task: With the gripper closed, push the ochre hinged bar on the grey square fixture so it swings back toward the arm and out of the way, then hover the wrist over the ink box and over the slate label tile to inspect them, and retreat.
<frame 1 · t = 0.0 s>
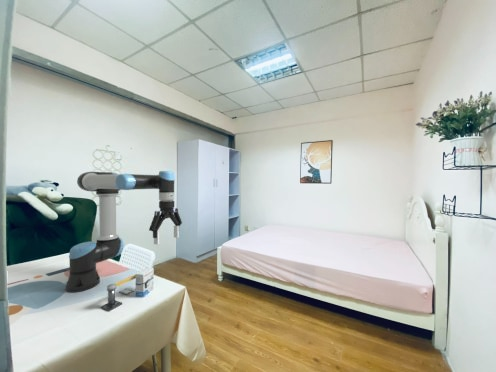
hand: (166, 240, 108), 28 cm above the table, fingers open, 13 cm apart
ink box: (145, 292, 109), on the table
swing arm: (125, 280, 103), point 9 cm above the table, hinge at 0.0°
label tile: (126, 292, 109), on the table
grey square fixture: (111, 306, 97), on the table
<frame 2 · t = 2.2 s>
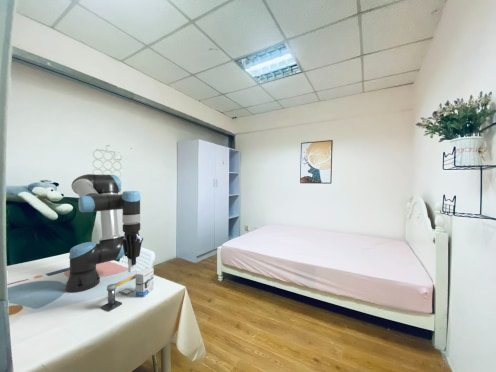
hand: (132, 271, 100), 16 cm above the table, fingers closed
nothing on the table moved.
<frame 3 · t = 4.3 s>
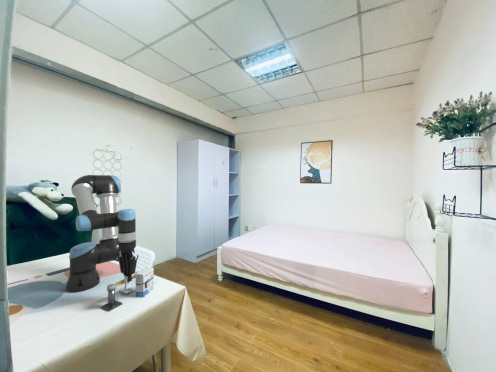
hand: (128, 287, 102), 6 cm above the table, fingers closed
swing arm: (125, 280, 103), point 9 cm above the table, hinge at 3.0°, touching gripper
everything else where it was.
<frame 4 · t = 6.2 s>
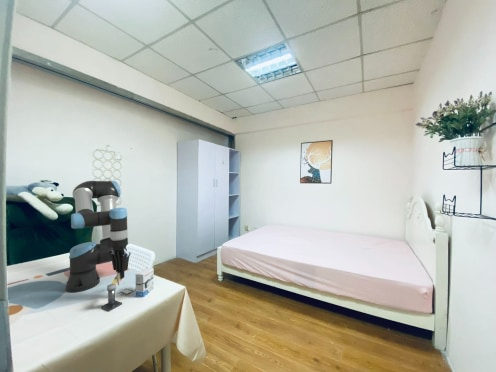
hand: (120, 284, 105), 6 cm above the table, fingers closed
swing arm: (115, 280, 103), point 9 cm above the table, hinge at 43.8°, touching gripper
everything else where it was.
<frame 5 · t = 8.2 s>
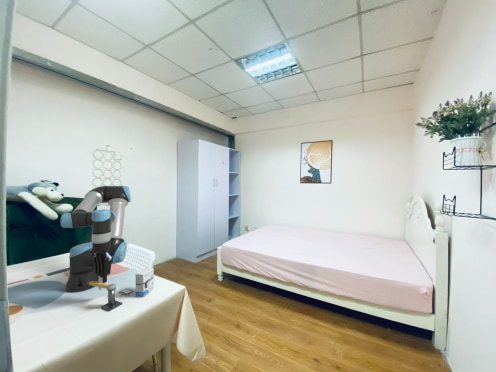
hand: (103, 288, 102), 6 cm above the table, fingers closed
swing arm: (100, 285, 99), point 9 cm above the table, hinge at 95.7°, touching gripper
everything else where it was.
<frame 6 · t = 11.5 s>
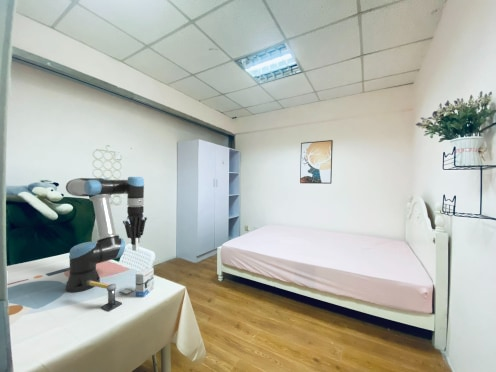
hand: (135, 250, 109), 23 cm above the table, fingers closed
swing arm: (100, 285, 99), point 9 cm above the table, hinge at 96.1°
everything else where it was.
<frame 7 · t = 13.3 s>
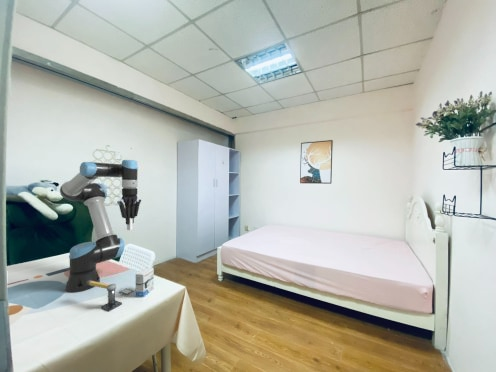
hand: (129, 229, 115), 32 cm above the table, fingers closed
nothing on the table moved.
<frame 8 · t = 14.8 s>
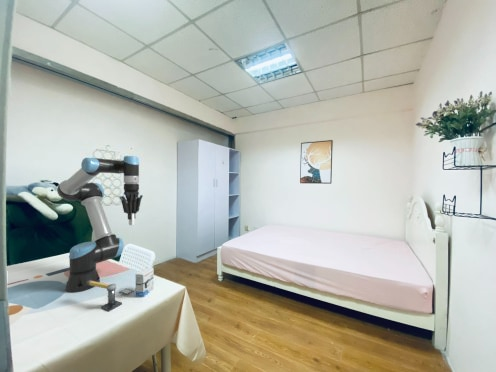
hand: (131, 224, 117), 34 cm above the table, fingers closed
nothing on the table moved.
at the end: swing arm at +96° (first picture: +0°); ink box moved 0.3 cm from its start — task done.
